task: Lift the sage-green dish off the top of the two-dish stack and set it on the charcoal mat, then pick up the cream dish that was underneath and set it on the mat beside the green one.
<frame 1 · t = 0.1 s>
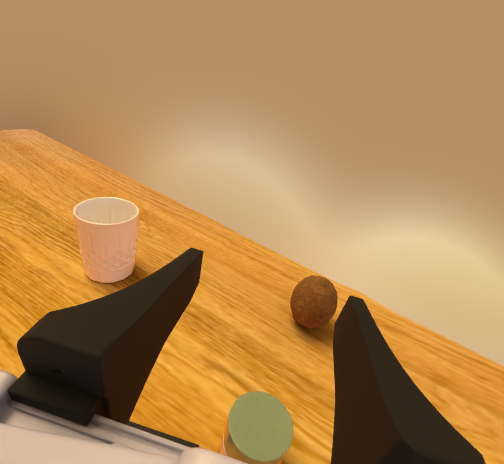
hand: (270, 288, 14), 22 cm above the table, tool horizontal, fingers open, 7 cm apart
fruit: (304, 323, 43), on the table
sage dish: (254, 441, 26), point 3 cm above the table, touching cream dish
white cup: (110, 269, 45), on the table
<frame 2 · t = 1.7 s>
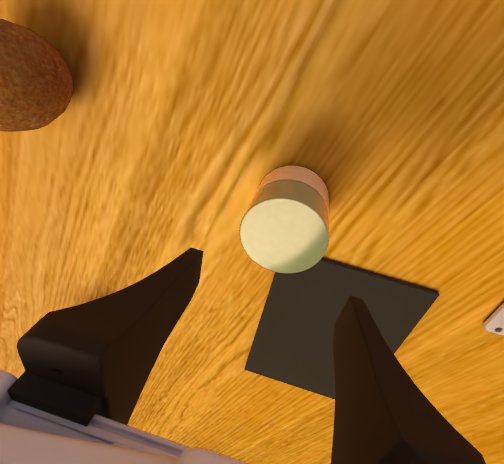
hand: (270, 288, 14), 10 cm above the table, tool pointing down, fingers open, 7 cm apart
fruit: (58, 73, 22), on the table
sage dish: (288, 216, 20), point 3 cm above the table, touching cream dish
mat: (324, 336, 30), on the table
cream dish: (292, 198, 23), on the table, touching sage dish
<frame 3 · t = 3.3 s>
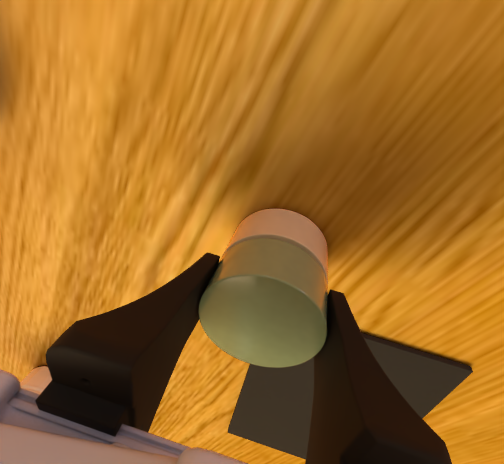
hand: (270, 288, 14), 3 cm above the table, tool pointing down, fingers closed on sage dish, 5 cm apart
sage dish: (271, 280, 15), point 3 cm above the table, touching cream dish, gripper
mat: (322, 404, 24), on the table
cream dish: (279, 248, 17), on the table, touching sage dish
white cup: (63, 383, 33), on the table
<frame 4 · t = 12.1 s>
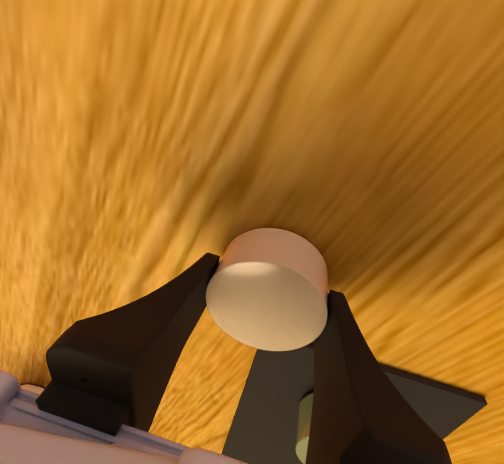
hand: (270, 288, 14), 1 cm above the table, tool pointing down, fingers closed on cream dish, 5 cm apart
sage dish: (340, 410, 20), resting on mat
mat: (321, 430, 22), on the table
cream dish: (274, 269, 15), on the table, touching gripper
when the fingers open (2 cm above the table, at t = 17.4 s): cream dish stays where it is, resting on mat.
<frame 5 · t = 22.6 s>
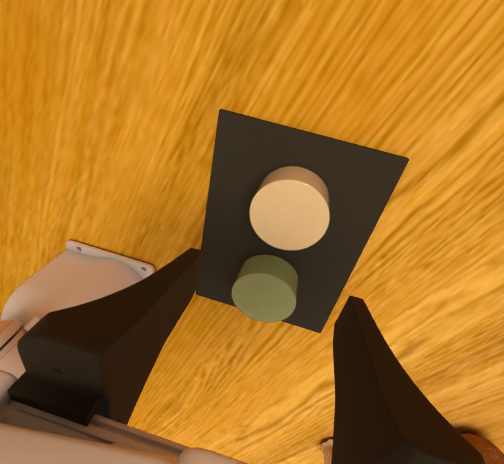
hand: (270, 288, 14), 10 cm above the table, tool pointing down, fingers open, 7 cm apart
fruit: (465, 433, 33), on the table
sage dish: (268, 276, 27), resting on mat
mat: (279, 239, 25), on the table
cream dish: (292, 199, 23), resting on mat
decorative ornament: (352, 444, 39), on the table
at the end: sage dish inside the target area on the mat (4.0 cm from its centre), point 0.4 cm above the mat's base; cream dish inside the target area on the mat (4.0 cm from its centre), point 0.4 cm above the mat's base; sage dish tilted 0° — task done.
